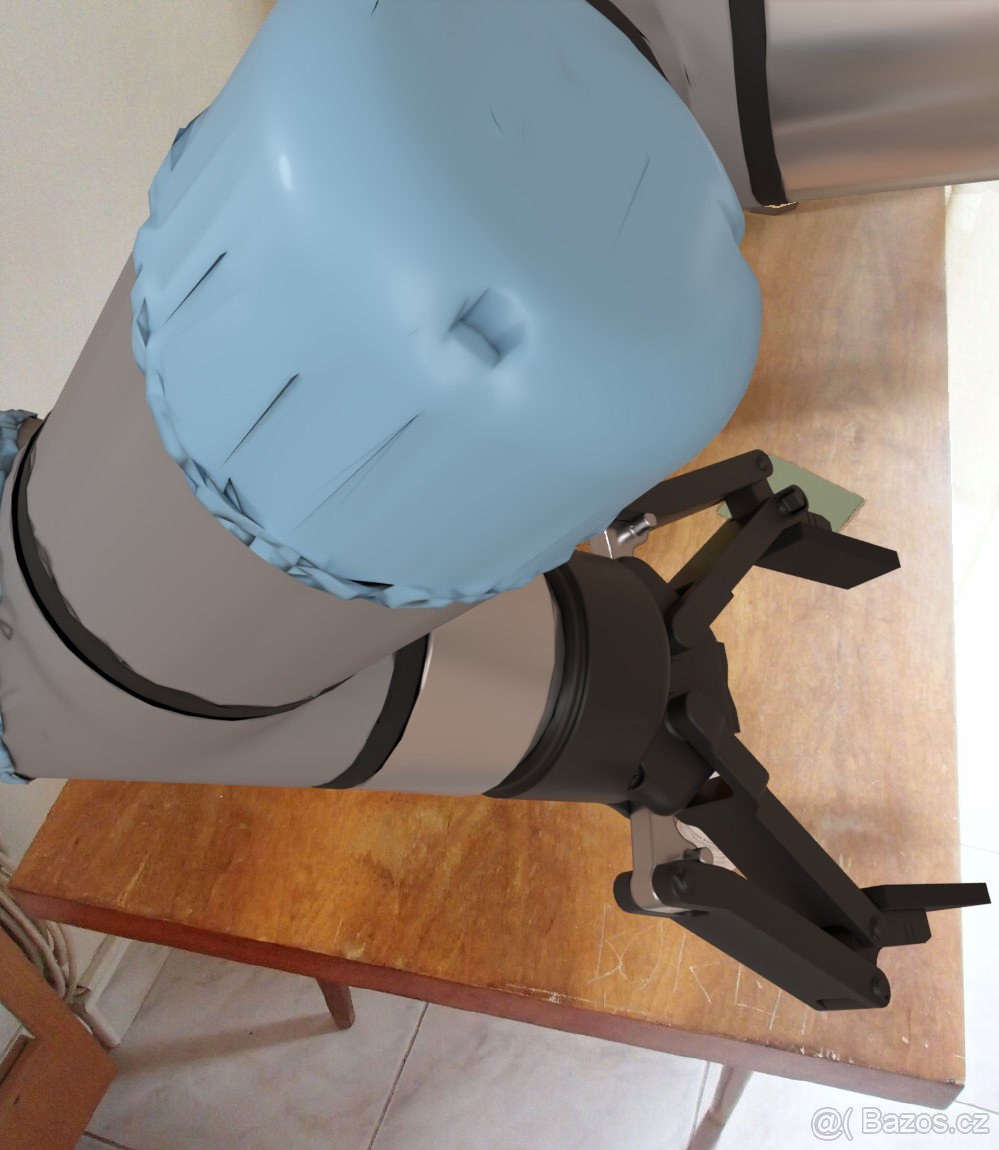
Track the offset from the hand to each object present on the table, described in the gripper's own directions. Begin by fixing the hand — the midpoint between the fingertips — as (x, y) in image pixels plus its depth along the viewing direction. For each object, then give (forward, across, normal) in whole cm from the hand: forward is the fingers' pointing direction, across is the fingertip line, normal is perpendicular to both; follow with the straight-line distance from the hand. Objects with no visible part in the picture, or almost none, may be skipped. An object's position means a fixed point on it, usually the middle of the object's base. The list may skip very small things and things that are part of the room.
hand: (911, 723), depth 40 cm
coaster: (+23, -24, -18) cm, 38 cm away
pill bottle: (+8, +1, -19) cm, 21 cm away
